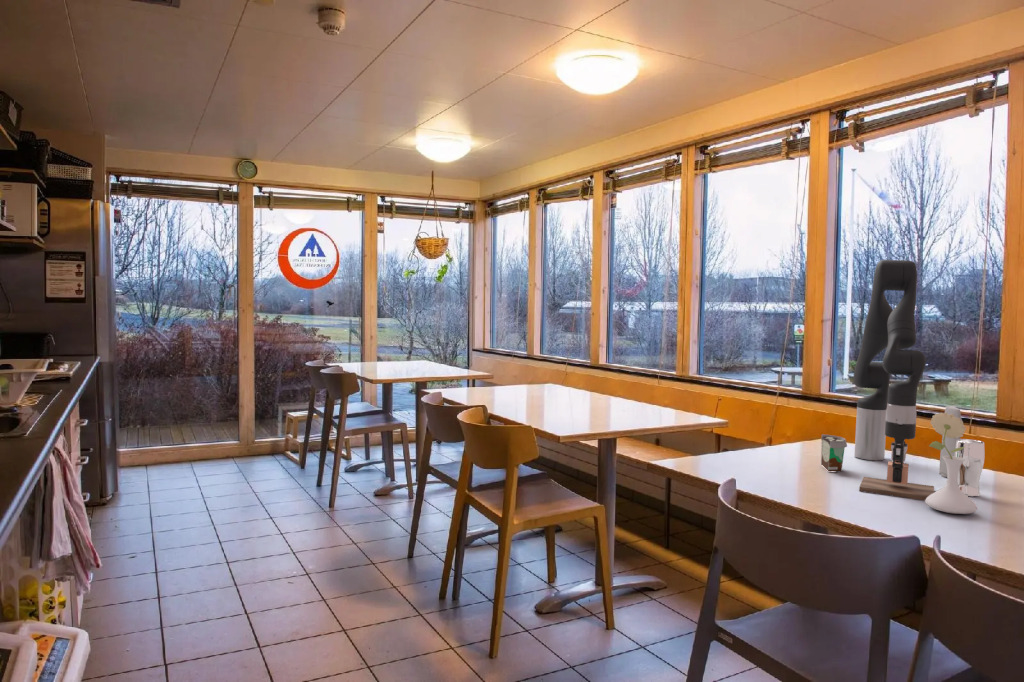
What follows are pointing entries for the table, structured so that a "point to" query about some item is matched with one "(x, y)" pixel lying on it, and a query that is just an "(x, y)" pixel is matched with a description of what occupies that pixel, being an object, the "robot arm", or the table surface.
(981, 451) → the beer glass
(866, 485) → the walnut board
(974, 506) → the flower in vase
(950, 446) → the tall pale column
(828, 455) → the food container
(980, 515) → the table surface
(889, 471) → the terracotta cube
